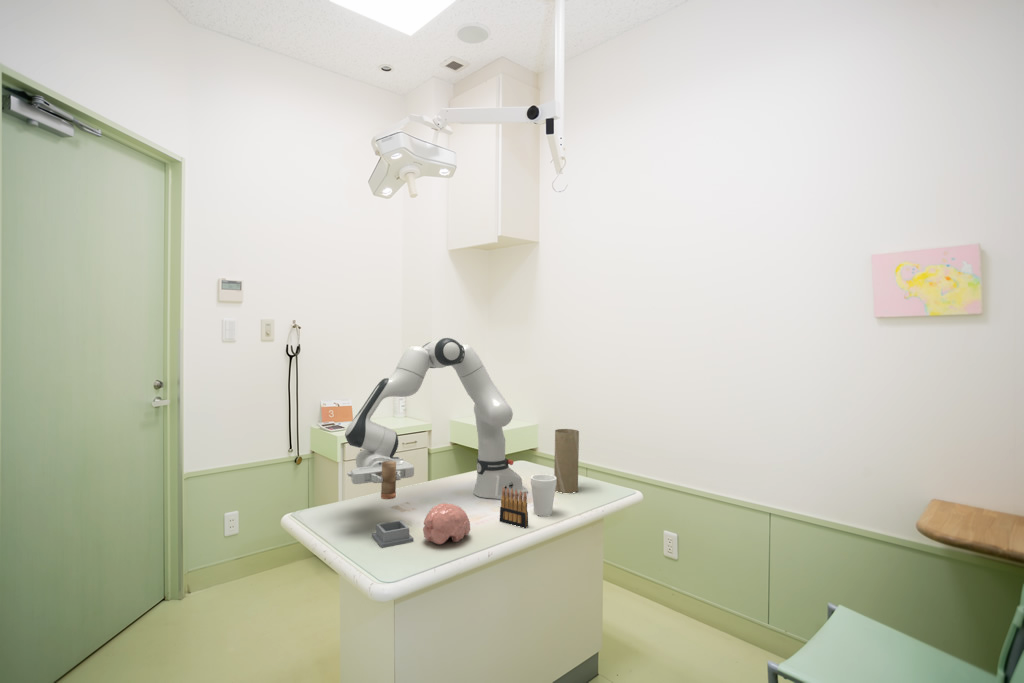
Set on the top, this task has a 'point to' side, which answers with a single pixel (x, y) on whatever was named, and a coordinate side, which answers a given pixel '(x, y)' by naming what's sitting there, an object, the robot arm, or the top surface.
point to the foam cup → (543, 493)
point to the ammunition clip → (514, 508)
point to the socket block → (392, 534)
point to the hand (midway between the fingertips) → (389, 479)
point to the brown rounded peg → (388, 480)
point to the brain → (446, 523)
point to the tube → (566, 460)
